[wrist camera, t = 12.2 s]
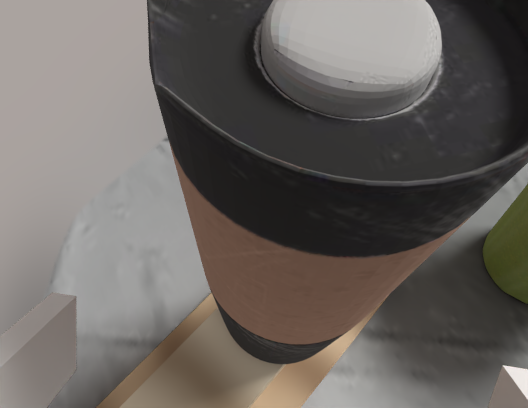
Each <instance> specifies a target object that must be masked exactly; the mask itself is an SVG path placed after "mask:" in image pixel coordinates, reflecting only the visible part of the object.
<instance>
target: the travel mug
mask: <svg viewBox="0 0 528 408" xmlns="http://www.w3.org/2000/svg"><path fill="white" fill-rule="evenodd" d="M147 10H148V31H149V32H148V33H149V60H150V67H151V74H152V80H153V84H154V88H155V91H156V95H157V99H158V102H159V106H160V109H161V113H162V116H163V121H164V124H165V128H166V132H167V135H168V139H169V142H170V146H171V150H172V154H173V157H174V161H175V165H176V168H177V172H178V176H179V180H180V183H181V187H182V191H183V194H184V198H185V202H186V205H187V209H188V213H189V216H190V220H191V224H192V228H193V231H194V235H195V239H196V242H197V246H198V250H199V253H200V257H201V261H202V264H203V268H204V272H205V275H206V278H207V281H208V284H209V287H210V290H211V292H212V294H213V297H214V299H215V302H216V304H217V306H218V309H219V311H220V314H221V316H222V318H223V321H224V323H225V325H226V327H227V329H228V331H229V333H230V335H231V336H232V337H233V339H234V340H235V342H236V343H237V344H238V345H239V346H240V347H241V348H242V349H243V350H245V351H246V352H247V353H248V354H250V355H252V356H253V357H255V358H257V359H259V360H262V361H265V362H268V363H274V364H292V363H297V362H300V361H303V360H306V359H308V358H310V357H312V356H314V355H315V354H317V353H318V352H320V351H322V350H323V349H324V348H326V347H327V346H329V345H330V344H331V343H333V342H334V341H336V340H337V339H338V338H340V337H341V336H343V335H344V334H345V333H347V332H348V331H349V330H351V329H352V328H353V327H355V326H356V325H357V324H358V323H359V322H361V321H362V320H363V319H364V318H365V317H366V316H367V315H368V314H369V313H370V312H371V311H372V310H373V309H374V308H376V307H377V306H378V305H379V304H380V303H381V302H382V301H383V300H384V299H385V298H386V297H387V296H388V295H389V294H390V293H391V292H392V291H393V290H394V289H395V288H396V287H398V286H399V285H400V284H401V283H402V282H403V281H404V280H405V279H406V278H407V277H408V276H409V275H410V274H411V273H412V272H413V271H414V270H415V269H416V268H417V267H419V266H420V265H421V264H422V263H423V262H424V261H425V260H426V259H427V258H428V257H429V256H430V255H431V254H432V253H433V252H434V251H435V250H436V249H437V248H438V247H439V246H441V245H442V244H443V243H444V242H445V241H446V240H447V239H448V238H449V237H450V236H451V235H452V234H453V233H454V232H455V231H456V230H457V229H458V228H459V227H460V226H462V225H463V224H464V223H465V222H466V221H467V220H468V219H469V218H470V217H471V216H472V215H473V214H474V213H475V212H476V211H477V210H478V209H479V208H480V207H482V206H483V205H484V204H485V203H486V202H487V201H488V200H489V199H490V198H491V197H492V196H493V195H494V194H495V193H496V192H497V191H498V190H499V189H500V188H501V187H503V186H504V185H505V184H506V183H507V182H508V181H509V180H510V179H511V178H512V177H513V176H514V175H515V174H516V173H517V172H518V171H519V170H520V169H521V168H523V167H524V166H525V165H526V164H527V163H528V0H147Z"/></svg>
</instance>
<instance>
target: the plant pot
mask: <svg viewBox="0 0 528 408" xmlns="http://www.w3.org/2000/svg"><path fill="white" fill-rule="evenodd" d="M483 258H484V262H485V266H486V269H487V271H488V273H489V274H490V276H491V278H492V279H493V280H494V282H495V283H496V284H497V285H498V286H499V287H500V288H501V289H502V290H503V291H504V292H505V293H507V294H509V295H511V296H513V297H515V298H517V299H519V300H520V301H522V302H524V303H526V304H528V184H527V186H526V187H525V188H524V189H523V191H522V192H521V193H520V194H519V196H518V197H517V198H516V200H515V201H514V202H513V203H512V205H511V206H510V207H509V208H508V210H507V211H506V212H505V213H504V215H503V216H502V217H501V218H500V220H499V221H498V222H497V223H496V225H495V226H494V227H493V228H492V230H491V231H490V232H489V234H488V235H487V237H486V240H485V243H484V246H483Z"/></svg>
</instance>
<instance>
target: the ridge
mask: <svg viewBox="0 0 528 408" xmlns="http://www.w3.org/2000/svg"><path fill="white" fill-rule="evenodd" d="M388 296H389V295H388ZM388 296H387V297H388ZM387 297H386V298H387ZM386 298H385V299H386ZM385 299H384V300H383V301H382V302H381V303H380V304H379V305H378V306H377V307H376V308H374V309H373V310H372V311H371V312H370V313H369V314H368V315H367V316H366V317H365V318H364V319H363V320H362V321H361V322H359V323H358V324H357V325H356V326H355V327H353V328H352V329H351V330H349V331H348V332H347V333H345V334H344V335H343V336H341V337H340V338H338V339H337V340H336V341H334V342H333V343H331V344H330V345H329V346H327V347H326V348H324V349H323V350H322V351H320V352H318V353H317V354H315V355H314V356H312V357H310V358H308V359H306V360H303V361H300V362H297V363H292V364H274V363H268V362H265V361H262V360H259V359H257V358H255V357H253V356H252V355H250V354H248V353H247V352H246V351H245V350H243V349H242V348H241V347H240V346H239V345H238V344H237V343H236V342H235V340H234V339H233V337H232V336H231V335H230V333H229V331H228V329H227V327H226V325H225V323H224V321H223V318H222V316H221V314H220V311H219V309H218V306H217V304H216V302H215V299H214V297H213V294H212V293H211V294H210V295H209V296H208V297H207V298H206V299H205V300H204V301H203V302H202V303H201V304H200V305H199V306H198V307H197V308H196V309H195V310H194V311H193V312H192V313H191V314H190V315H189V316H188V317H187V318H186V319H185V320H184V321H183V322H182V323H181V324H180V325H179V326H178V327H177V328H176V329H175V330H174V331H173V332H171V333H170V334H169V335H168V336H167V337H166V338H165V339H164V340H163V341H162V342H161V343H160V344H159V345H158V346H157V347H156V348H155V349H154V350H153V351H152V352H151V353H150V354H149V355H148V356H147V357H146V358H145V359H144V360H143V361H142V362H141V363H140V364H139V365H138V366H137V367H136V368H135V369H134V370H133V371H132V372H131V373H130V374H129V375H128V376H127V377H126V378H125V379H124V380H123V381H122V382H121V383H120V384H119V385H118V386H117V387H116V388H115V389H114V390H113V391H112V392H111V393H110V394H109V395H108V396H107V397H106V398H105V399H104V400H103V401H102V402H101V403H100V404H99V405H98V406H97V407H96V408H301V406H302V405H303V404H304V403H305V401H306V400H307V399H308V397H309V396H310V395H311V394H312V392H313V391H314V390H315V389H316V387H317V386H318V385H319V383H320V382H321V381H322V380H323V378H324V377H325V376H326V375H327V373H328V372H329V371H330V369H331V368H332V367H333V366H334V364H335V363H336V362H337V361H338V359H339V358H340V357H341V355H342V354H343V353H344V352H345V350H346V349H347V348H348V347H349V345H350V344H351V343H352V341H353V340H354V339H355V338H356V336H357V335H358V334H359V333H360V331H361V330H362V329H363V327H364V326H365V325H366V324H367V322H368V321H369V320H370V319H371V317H372V316H373V315H374V313H375V312H376V311H377V310H378V308H379V307H380V306H381V305H382V303H383V302H384V301H385Z"/></svg>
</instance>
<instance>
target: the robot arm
mask: <svg viewBox="0 0 528 408" xmlns="http://www.w3.org/2000/svg"><path fill="white" fill-rule="evenodd" d="M75 371H76V296H71V295H65V294H59V293H51V294H50V295H49V296H48V297H47V298H45V299H44V300H43V301H42V302H41V303H39V304H38V305H37V306H36V307H35V308H33V309H32V310H31V311H30V312H29V313H27V314H26V315H25V316H24V317H23V318H21V319H20V320H19V321H18V322H17V323H15V324H14V325H13V326H12V327H11V328H9V329H8V330H7V331H6V332H5V333H4V334H2V335H1V336H0V408H47V407H48V406H49V404H50V403H51V402H52V400H53V399H54V398H55V397H56V395H57V394H58V393H59V392H60V390H61V389H62V388H63V386H64V385H65V384H66V383H67V381H68V380H69V379H70V378H71V376H72V375H73V374H74V372H75ZM488 408H528V369H523V368H516V367H510V366H504V365H502V368H501V371H500V374H499V377H498V379H497V382H496V385H495V388H494V391H493V394H492V396H491V399H490V402H489V405H488Z"/></svg>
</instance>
